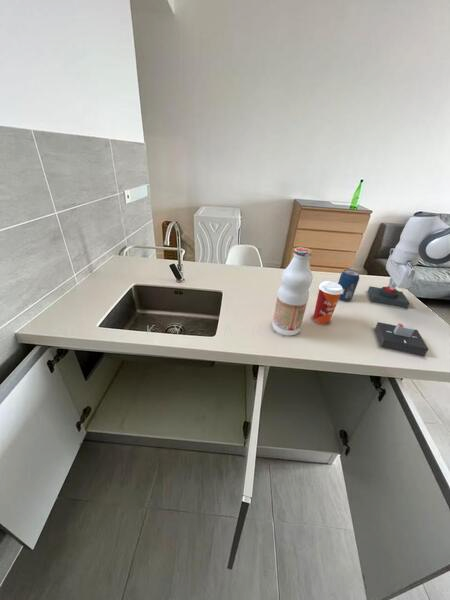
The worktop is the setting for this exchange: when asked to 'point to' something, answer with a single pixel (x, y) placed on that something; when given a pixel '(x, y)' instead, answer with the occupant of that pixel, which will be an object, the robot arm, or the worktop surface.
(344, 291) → the soda can
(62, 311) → the worktop surface
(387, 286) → the power button
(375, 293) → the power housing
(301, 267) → the fruit juice
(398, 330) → the timer knob
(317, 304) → the paper cup
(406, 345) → the timer panel
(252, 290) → the worktop surface
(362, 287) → the worktop surface
